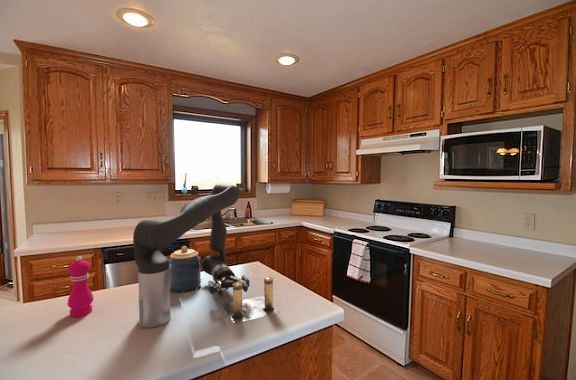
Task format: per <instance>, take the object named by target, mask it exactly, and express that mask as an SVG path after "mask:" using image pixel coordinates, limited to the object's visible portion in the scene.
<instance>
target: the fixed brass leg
mask: <svg viewBox="0 0 576 380" xmlns="http://www.w3.org/2000/svg"><path fill="white" fill-rule="evenodd" d="M263 288H264V289H263V290H264V292H263V296H264V310H265V311H272V310H273V306H274V278H273V277H272V276H266V277H264V278H263Z"/></svg>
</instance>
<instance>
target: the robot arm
mask: <svg viewBox="0 0 576 380" xmlns="http://www.w3.org/2000/svg"><path fill="white" fill-rule="evenodd" d="M239 198H240V190H239V188H238V187H237V186H236V185H233V184H224V183H216V184H215V185H214V187H213V188H212V191H211V195H205V196H200V197H197V198H194V199H193V200H191V201H188V202H186V204H184V205H183V206H182V207H181V209H180V212H179V213H178V214H177V215H176V216H173V217H171V218H169V219H166V220H156V219H144V220H141V221H140V222H138V224H136V226H135V228H134V230H133V237H132V238H133V239H132V240H133V241H132V243H133V253H134V262H135V264H136V266H137V271H138V273H137V274H138V276H137V277H138V322H139V323H138V326H139V329H140V328H145V329H147V328H149V329H151V328H157V327H160V326H163V325H165V324H167V323H168V322H169V321H170V320H171V311H172V310H171V290H170V269H169V267H170V264H169V260H170V259H169V258H168V257H167V256H165V255H164V254H163V253H162V252H161V251H162V250H165V249H167V248H168V247H170V246H171V245H173V244H174V243H175V242H176V241H177V240H179V239H180V238H181V237H182V236H184V235H185V234H186V233H188V232H189V231H191V230H192V229H194V228H195V227H197V226H199V225H200V224H202V223H203V222H205V221H207V220H209V218H211V229H210V238H209V244H208V249H209V250H211V251H213V252H217V253H218V255H207V256H205V257H204V258H203V259H202V261H201V267H202V270H203V271H204V272H205V274H207V275H209V276H210V277H211V276H212V280H213V281H212V280H208V291H209V293H210V294H214V293H216V294H217V296H219V297H223V296H224V293H223V291H224V290H228V289H230V288H231V289H233V283H235V282H241V283H242V291H243V292H244V293H247V292H248V291H249V287H250V286H251V285H250V279H249V277H247V275H241V277H237V276H236V275H235V272H233V270H232V269H231V268H230V266H228V265H227V264H228V263H227V257H226V242H227V235H228V233H227V227H226V224H225V221H224V218H223V213H222V210H224V209H227V208H229V207H231V206H233V205H234V204H236V203H237V201H239ZM160 250H161V251H160Z"/></svg>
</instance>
